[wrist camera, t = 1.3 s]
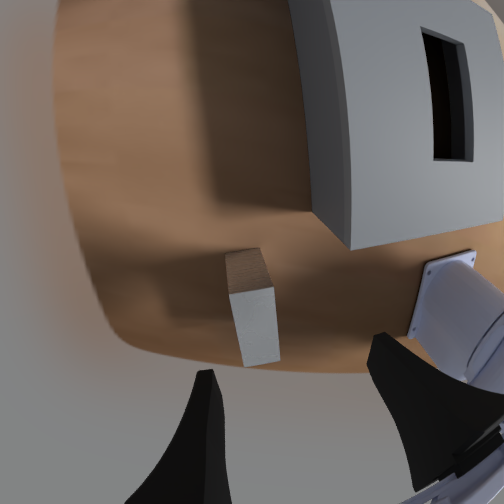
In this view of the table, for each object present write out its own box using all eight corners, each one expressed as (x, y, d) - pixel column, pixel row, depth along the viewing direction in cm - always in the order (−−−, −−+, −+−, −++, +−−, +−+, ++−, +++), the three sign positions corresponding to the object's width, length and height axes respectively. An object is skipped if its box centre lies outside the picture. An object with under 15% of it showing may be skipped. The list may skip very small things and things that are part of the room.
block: (267, 314, 22) (280, 360, 17) (237, 320, 22) (244, 367, 17) (259, 247, 19) (273, 286, 15) (225, 253, 19) (228, 294, 14)
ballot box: (454, 195, 19) (502, 220, 14) (312, 212, 18) (350, 250, 13) (442, 23, 12) (491, 14, 7) (285, -12, 11) (314, -56, 6)
